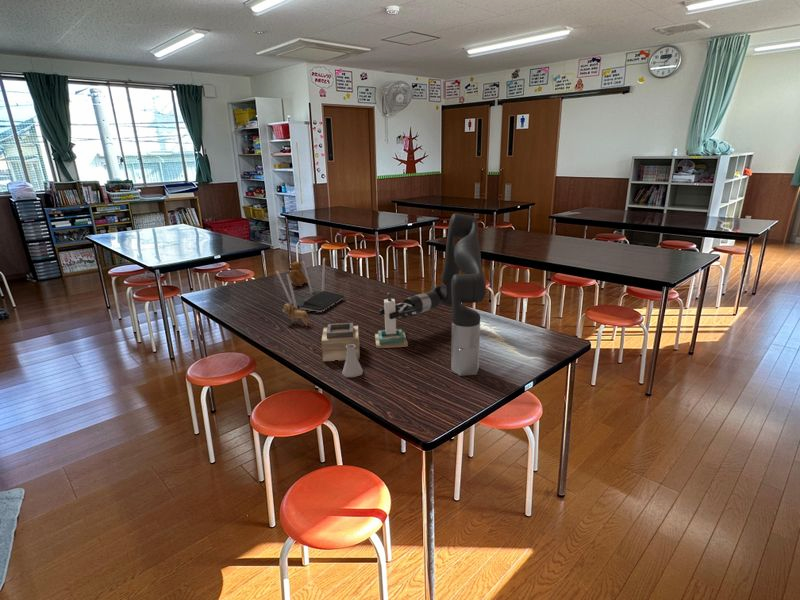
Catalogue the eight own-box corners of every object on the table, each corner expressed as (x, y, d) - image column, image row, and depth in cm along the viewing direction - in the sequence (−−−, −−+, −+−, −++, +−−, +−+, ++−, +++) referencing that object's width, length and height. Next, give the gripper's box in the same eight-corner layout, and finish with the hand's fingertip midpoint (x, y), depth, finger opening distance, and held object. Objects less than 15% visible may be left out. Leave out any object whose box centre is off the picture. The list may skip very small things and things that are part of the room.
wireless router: (315, 318, 204) (311, 275, 198) (273, 313, 212) (268, 272, 206) (349, 296, 234) (347, 259, 228) (311, 293, 242) (307, 256, 236)
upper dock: (359, 359, 162) (358, 333, 159) (323, 361, 161) (320, 335, 157) (359, 344, 174) (357, 320, 171) (325, 346, 173) (323, 322, 170)
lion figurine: (282, 324, 198) (279, 305, 195) (289, 320, 202) (287, 301, 199) (310, 328, 192) (308, 308, 189) (317, 324, 197) (315, 304, 194)
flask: (343, 379, 147) (341, 351, 144) (339, 370, 154) (337, 343, 151) (365, 376, 149) (363, 348, 146) (360, 366, 156) (359, 340, 153)
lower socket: (407, 346, 171) (407, 339, 170) (376, 348, 170) (376, 341, 169) (404, 334, 183) (404, 327, 182) (375, 336, 182) (374, 329, 181)
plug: (396, 333, 174) (394, 294, 169) (386, 334, 173) (384, 295, 168) (395, 329, 177) (394, 291, 172) (385, 330, 177) (383, 291, 172)
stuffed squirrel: (308, 281, 265) (306, 259, 261) (305, 288, 251) (303, 265, 247) (291, 282, 264) (289, 260, 260) (287, 288, 251) (285, 265, 247)
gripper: (405, 291, 186) (373, 301, 175) (429, 299, 175) (396, 309, 165) (405, 308, 188) (373, 319, 178) (429, 317, 178) (397, 328, 167)
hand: (385, 314), depth 171 cm, fingers closed on plug, 5 cm apart
